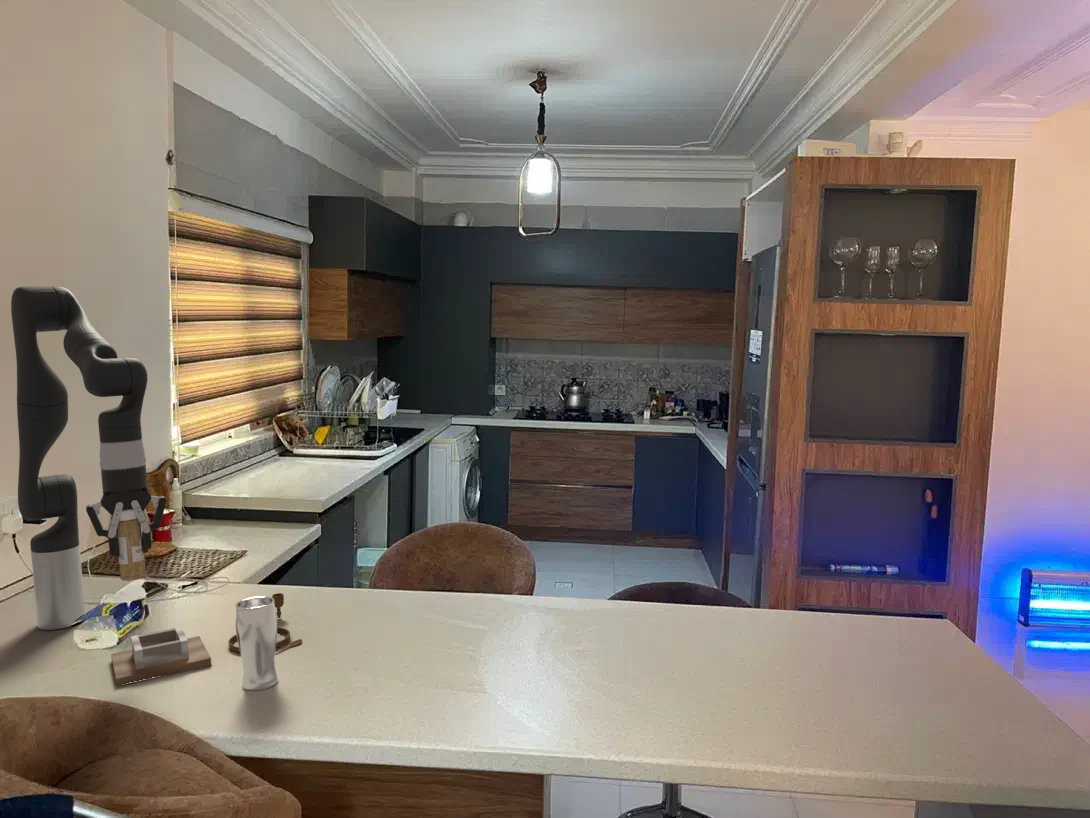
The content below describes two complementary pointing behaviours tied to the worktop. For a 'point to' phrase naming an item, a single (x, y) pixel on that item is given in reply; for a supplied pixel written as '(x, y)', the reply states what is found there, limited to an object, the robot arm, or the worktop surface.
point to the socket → (159, 656)
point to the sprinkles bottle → (130, 546)
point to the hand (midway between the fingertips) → (130, 553)
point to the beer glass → (257, 641)
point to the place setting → (282, 631)
